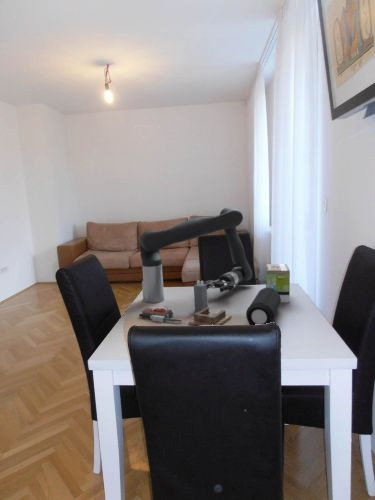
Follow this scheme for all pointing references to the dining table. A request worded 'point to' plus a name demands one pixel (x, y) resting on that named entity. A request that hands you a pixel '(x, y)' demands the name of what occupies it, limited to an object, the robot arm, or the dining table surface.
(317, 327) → the dining table surface
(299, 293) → the dining table surface
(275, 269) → the tea box
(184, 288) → the dining table surface
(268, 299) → the portable speaker
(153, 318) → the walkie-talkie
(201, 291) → the connector plug
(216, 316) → the tray
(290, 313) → the dining table surface
